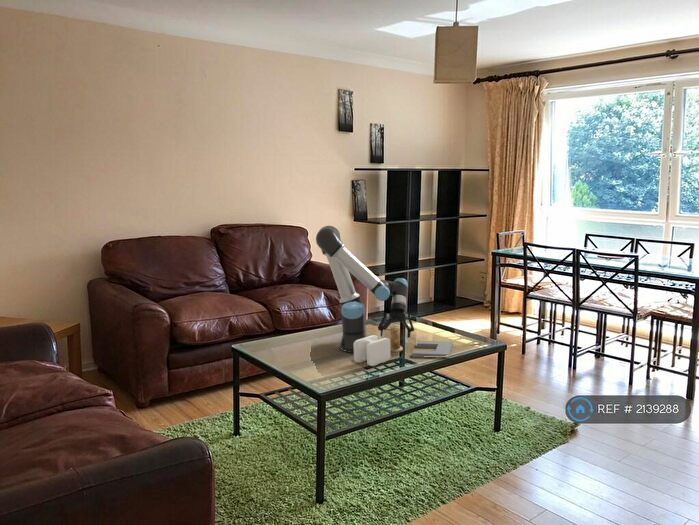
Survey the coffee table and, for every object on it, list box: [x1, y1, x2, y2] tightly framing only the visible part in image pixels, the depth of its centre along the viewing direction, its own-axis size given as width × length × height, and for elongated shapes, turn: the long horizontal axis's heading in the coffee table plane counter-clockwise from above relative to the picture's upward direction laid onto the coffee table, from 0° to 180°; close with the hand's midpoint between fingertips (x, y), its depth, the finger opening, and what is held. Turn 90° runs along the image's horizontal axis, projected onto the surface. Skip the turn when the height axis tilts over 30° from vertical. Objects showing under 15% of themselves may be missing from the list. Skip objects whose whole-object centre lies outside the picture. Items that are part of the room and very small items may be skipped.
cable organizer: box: [353, 334, 391, 367], centre depth 278 cm, size 15×11×12 cm
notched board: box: [411, 340, 454, 358], centre depth 290 cm, size 18×20×2 cm
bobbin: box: [389, 325, 403, 353], centre depth 294 cm, size 7×7×12 cm
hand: (394, 342), depth 291 cm, fingers open, 11 cm apart
